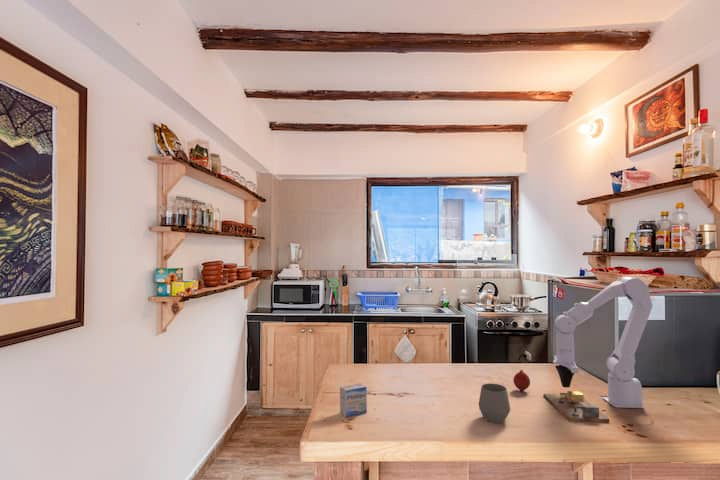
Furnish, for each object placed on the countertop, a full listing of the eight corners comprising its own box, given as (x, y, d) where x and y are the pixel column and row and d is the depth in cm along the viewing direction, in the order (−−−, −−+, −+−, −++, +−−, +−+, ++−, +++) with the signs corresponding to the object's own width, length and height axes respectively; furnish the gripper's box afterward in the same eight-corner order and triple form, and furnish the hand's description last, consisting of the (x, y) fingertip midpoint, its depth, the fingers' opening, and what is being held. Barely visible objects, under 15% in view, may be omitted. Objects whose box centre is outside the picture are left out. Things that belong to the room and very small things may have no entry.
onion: (531, 394, 143) (531, 372, 143) (515, 393, 144) (515, 371, 145) (528, 388, 149) (528, 367, 149) (512, 387, 150) (512, 366, 150)
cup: (506, 428, 116) (506, 395, 117) (475, 421, 121) (475, 389, 122) (512, 417, 124) (512, 385, 125) (483, 410, 129) (482, 380, 130)
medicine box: (345, 418, 124) (345, 390, 124) (339, 412, 128) (339, 386, 128) (367, 413, 128) (367, 386, 128) (360, 408, 132) (360, 382, 132)
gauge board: (577, 397, 140) (577, 386, 141) (609, 422, 120) (609, 409, 121) (543, 396, 141) (543, 385, 141) (569, 421, 121) (569, 408, 121)
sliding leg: (579, 398, 134) (579, 391, 134) (583, 402, 131) (583, 394, 131) (558, 398, 135) (558, 391, 135) (562, 401, 132) (562, 394, 132)
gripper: (545, 343, 148) (546, 379, 148) (562, 354, 133) (563, 394, 133) (564, 344, 147) (565, 380, 147) (584, 354, 133) (584, 394, 133)
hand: (565, 386), depth 140 cm, fingers closed
